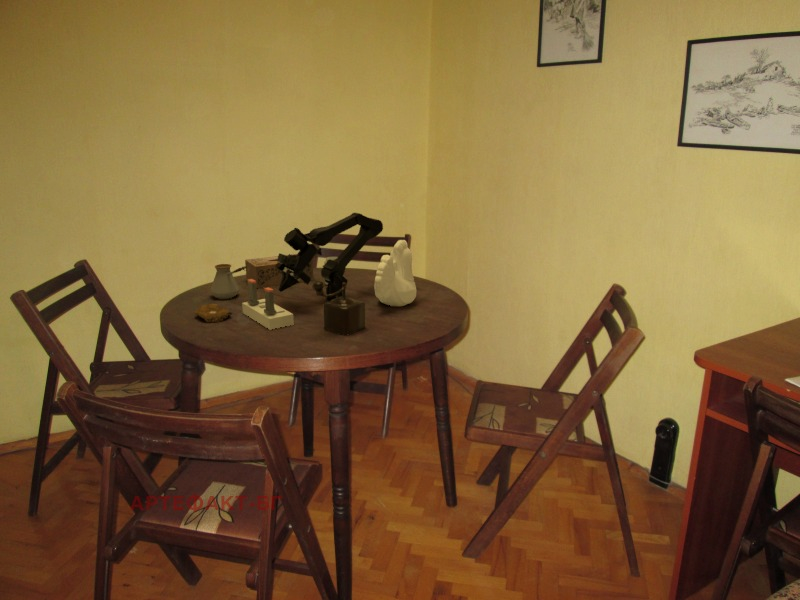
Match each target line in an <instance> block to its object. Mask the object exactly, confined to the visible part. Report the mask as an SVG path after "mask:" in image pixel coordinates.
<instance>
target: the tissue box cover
mask: <svg viewBox="0 0 800 600" xmlns="http://www.w3.org/2000/svg"><path fill="white" fill-rule="evenodd" d="M297 254H298V253H292V254H290V255H297ZM286 255H287V256H288V255H289V254H286ZM278 256H279V255H276V256H275V255H274V256H265V257H258V258H248V259H247V258H246V259H244V264H245V266H247V268H245V278H246V282H247V281H248V279H253V280H255V281H256V288H260V289H264V288H263V287H269V288H272V287H271V286H275V287H279V286H280V283H281V280H282V272H281V271H280V270H279V269H278V268H276V267H275V265H276V264H277V263H278V261H277V259H278ZM309 265H310V267H306V268H305V270H304V271H303V272H305V273H306V274H307V275H308V276H309V277H311V281H310V282H311V283H312V282H314V280H315V279H314V259H312V260H311V262H310V263H309ZM248 270H249V271H248ZM299 282H300V283H299V284H302V283H303V284H305V283H304V281H302V280H301V279H300V280H299Z"/></svg>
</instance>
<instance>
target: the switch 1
mask: <svg viewBox="0 0 800 600" xmlns="http://www.w3.org/2000/svg"><path fill="white" fill-rule="evenodd" d="M247 289H248V290H247V291H248V299H247V301H246V302H247V303H249V304H250V305H255V304H259V301H258V300H259V299H258V292H257V290H258V289H256V281H255V280H253V279H248V282H247Z"/></svg>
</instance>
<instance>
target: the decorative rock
mask: <svg viewBox="0 0 800 600" xmlns="http://www.w3.org/2000/svg"><path fill="white" fill-rule="evenodd" d="M194 314H196V315H198V316H199V318H202V319H203V320H204V321H205V322H206V323H220V322H224V320H226V319H228V318H229V315H232V314H233V312H232V311H230V309H227V308H225V307H224V308H223V307H222V306H219V305H218V304H216V303H210V304H203V305H200V306H199V307H197V309H196V310H195V311H194Z"/></svg>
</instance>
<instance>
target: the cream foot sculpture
mask: <svg viewBox="0 0 800 600" xmlns="http://www.w3.org/2000/svg"><path fill="white" fill-rule="evenodd" d="M389 254H390V255H389ZM389 254H384V255H382V256H381V258H380V262H379V264H378V266H377V269H376V272H375V274H376V275H375V278H374V287H373V288H374V295H375V297H376V298H378V300H379V301H380V303H382V304H385V305H387V306H389V305H390V307H404V306H406V305H408V304H411V303H413V301H414V300H415V299H416V297H417V286H416V282H415V278H414V273H413V265H412V264H413V255H412V251H411V249H410V248H409V246H408V242H407V241H406V240H405V239H398V240H397V241H396V243H395V244H394V246H393V248H392V250H391V251H390V253H389Z"/></svg>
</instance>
